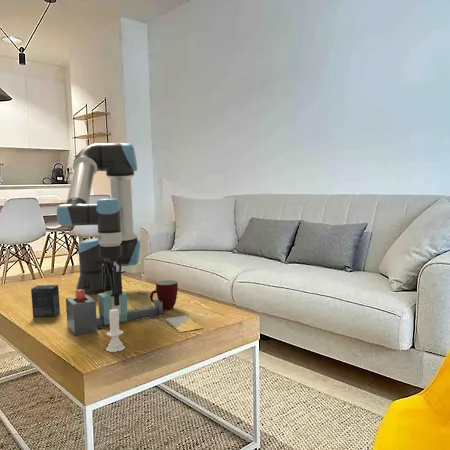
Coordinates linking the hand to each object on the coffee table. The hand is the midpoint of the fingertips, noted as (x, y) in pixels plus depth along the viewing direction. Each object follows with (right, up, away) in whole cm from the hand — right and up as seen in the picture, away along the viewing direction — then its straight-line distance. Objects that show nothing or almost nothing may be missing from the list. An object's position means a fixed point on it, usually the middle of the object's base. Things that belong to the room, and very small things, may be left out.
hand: (113, 312), depth 149 cm
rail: (+4, -4, +3) cm, 6 cm away
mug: (+15, -2, +16) cm, 22 cm away
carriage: (0, -4, 0) cm, 4 cm away
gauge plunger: (-9, +5, -6) cm, 12 cm away
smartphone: (+24, -4, -2) cm, 25 cm away
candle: (+7, -6, -23) cm, 24 cm away
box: (-27, -4, +11) cm, 30 cm away
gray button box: (-9, -5, -5) cm, 11 cm away
